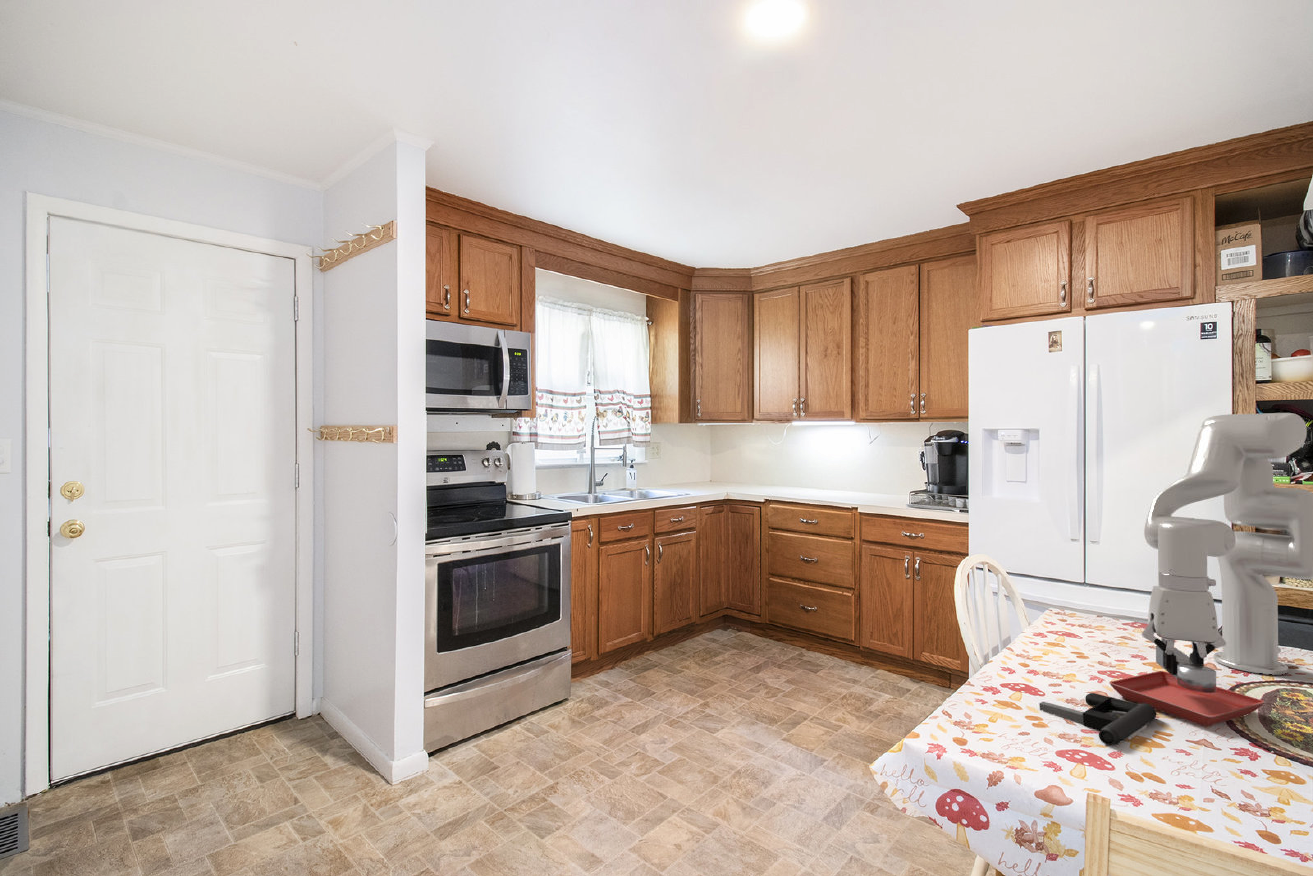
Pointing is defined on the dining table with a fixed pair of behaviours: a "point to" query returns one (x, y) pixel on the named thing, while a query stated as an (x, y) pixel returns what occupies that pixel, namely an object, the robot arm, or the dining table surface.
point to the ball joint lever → (1190, 672)
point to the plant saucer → (1185, 699)
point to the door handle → (1108, 717)
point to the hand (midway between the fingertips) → (1183, 673)
